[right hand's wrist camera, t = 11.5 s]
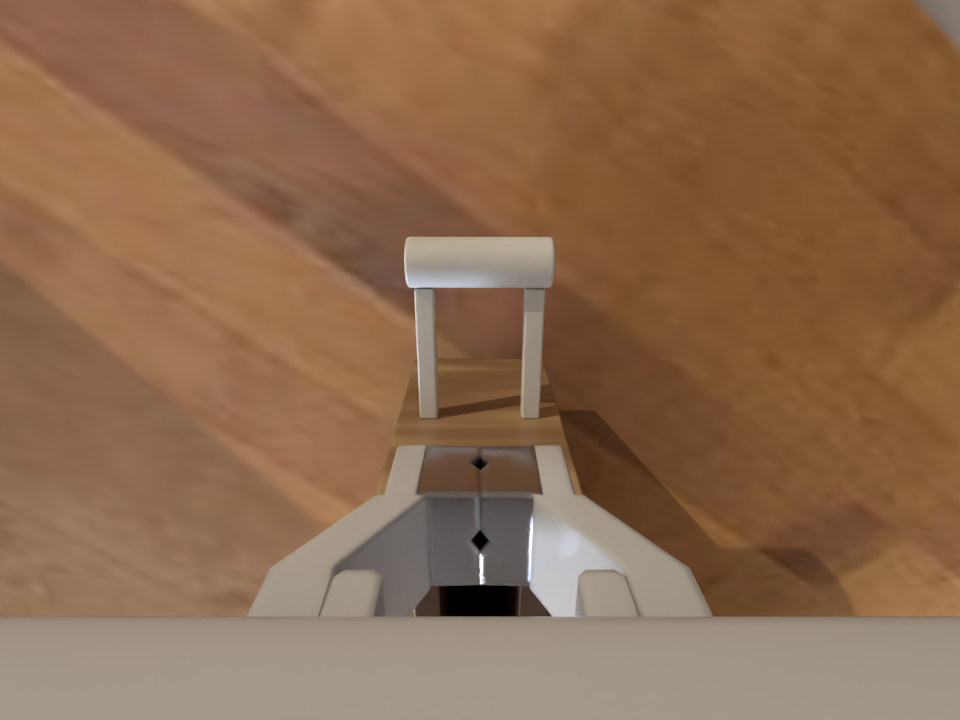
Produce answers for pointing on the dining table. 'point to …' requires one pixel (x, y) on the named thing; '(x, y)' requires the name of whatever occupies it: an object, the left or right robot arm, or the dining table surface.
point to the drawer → (479, 384)
